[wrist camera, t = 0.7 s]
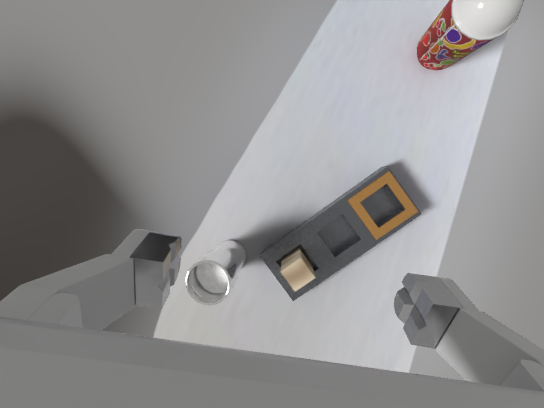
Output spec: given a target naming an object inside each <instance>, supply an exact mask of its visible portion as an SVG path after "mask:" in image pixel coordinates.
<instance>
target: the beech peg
mask: <svg viewBox="0 0 544 408" xmlns="http://www.w3.org/2000/svg"><path fill="white" fill-rule="evenodd" d="M280 272H281V274H282V275H283V276H284V278H285V279H286V280H287V282H288V283H289V284H290V286H291V287H292V288H293V290H294V291H297V290H298V289H300V288H301V287H303V286H304V285H306V284H307V283H309V282H310V281H312V280H313V279H314V278H315V274H314V270H313V266H312V263H311V261H310V260H309V259H308V257H307V256H306V255H305V253H304V252H303V251H302V249H301V248H300V246H299V247H298V248H296V249H295V250H293V251H292V252H290V253H289V254H288V255H286V256H285V257H283V258H282V262H281V270H280Z"/></svg>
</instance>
